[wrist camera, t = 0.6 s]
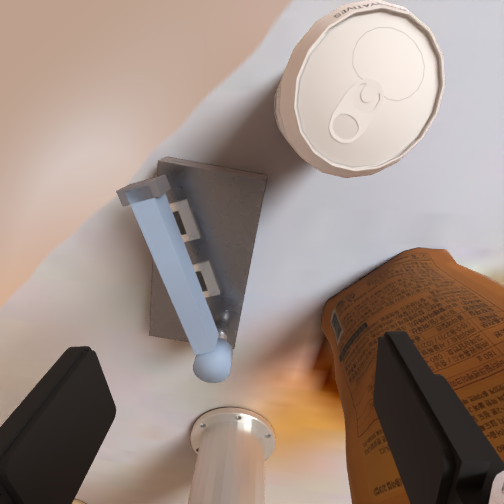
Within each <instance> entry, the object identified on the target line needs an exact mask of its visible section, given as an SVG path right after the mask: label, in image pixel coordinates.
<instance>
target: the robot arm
mask: <svg viewBox="0 0 504 504" xmlns="http://www.w3.org/2000/svg"><path fill="white" fill-rule="evenodd" d="M373 402H374V408H375V411H376V414H377V416H378V419H379V422H380V424H381V427H382V430H383V432H384V435H385V438H386V440H387V443H388V446H389V448H390V451H391V454H392V456H393V459H394V461H395V464H396V467H397V469H398V472H399V475H400V477H401V480H402V483H403V485H404V488H405V491H406V493H407V496H408V499H409V501H410V504H504V462H503V461H502V459H501V458H500V456H499V455H498V454H497V452H496V451H495V449H494V448H493V446H492V445H491V443H490V442H489V441H488V439H487V438H486V436H485V435H484V433H483V432H482V430H481V429H480V428H479V426H478V425H477V423H476V422H475V420H474V419H473V417H472V416H471V415H470V413H469V412H468V410H467V409H466V407H465V406H464V404H463V403H462V402H461V400H460V399H459V397H458V396H457V394H456V393H455V391H454V390H453V389H452V387H451V386H450V384H449V383H448V381H447V380H446V379H445V378H444V377H443V376H442V375H440V374H434V373H433V372H432V370H431V369H430V367H429V366H428V364H427V363H426V361H425V360H424V358H423V357H422V355H421V354H420V352H419V351H418V349H417V348H416V346H415V345H414V343H413V342H412V340H411V339H410V337H409V335H408V334H407V333H406V332H405V331H386V332H385V333H384V336H381V337H379V338H378V348H377V360H376V371H375V383H374V395H373ZM115 415H116V406H115V404H114V401H113V398H112V395H111V393H110V390H109V387H108V385H107V382H106V379H105V377H104V374H103V371H102V368H101V366H100V363H99V360H98V358H97V355H96V353H95V351H92V350H91V348H90V347H88V346H83V347H70V348H68V349H67V350H66V351H65V352H64V353H63V355H62V356H61V357H60V358H59V359H58V360H57V362H56V363H55V364H54V365H53V366H52V367H51V369H50V370H49V371H48V372H47V373H46V374H45V376H44V377H43V378H42V379H41V380H40V381H39V383H38V384H37V385H36V386H35V387H34V388H33V390H32V391H31V392H30V393H29V394H28V395H27V397H26V398H25V399H24V400H23V401H22V402H21V404H20V405H19V406H18V407H17V408H16V409H15V411H14V412H13V413H12V414H11V415H10V417H9V418H8V419H7V420H6V421H5V422H4V424H3V425H2V426H1V427H0V504H72V502H73V500H74V498H75V496H76V494H77V492H78V490H79V488H80V486H81V484H82V482H83V480H84V478H85V476H86V474H87V472H88V470H89V468H90V466H91V464H92V462H93V460H94V458H95V456H96V454H97V452H98V450H99V448H100V446H101V444H102V442H103V440H104V438H105V436H106V434H107V432H108V430H109V428H110V426H111V424H112V422H113V420H114V418H115ZM190 440H191V445H192V447H193V450H194V451H195V452H196V454H197V460H196V465H195V470H194V475H193V480H192V485H191V490H190V495H189V500H188V504H265V461H266V460H267V459H268V458H269V457H270V456H271V455H272V453H273V451H274V449H275V434H274V430H273V428H272V427H271V425H270V424H269V423H268V422H267V420H265V419H264V418H263V417H261V416H260V415H258V414H256V413H254V412H252V411H249V410H246V409H241V408H232V407H228V408H219V409H215V410H212V411H209V412H207V413H205V414H204V415H202V416H201V417H200V418H199V419H198V420H197V421H196V422H195V424H194V425H193V428H192V432H191V437H190Z"/></svg>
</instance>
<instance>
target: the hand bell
mask: <svg viewBox="0 0 504 504" xmlns="http://www.w3.org/2000/svg"><path fill="white" fill-rule="evenodd" d="M72 504H86V503H84V502H82V501H80V500H77V499H74V500H73V502H72Z"/></svg>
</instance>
